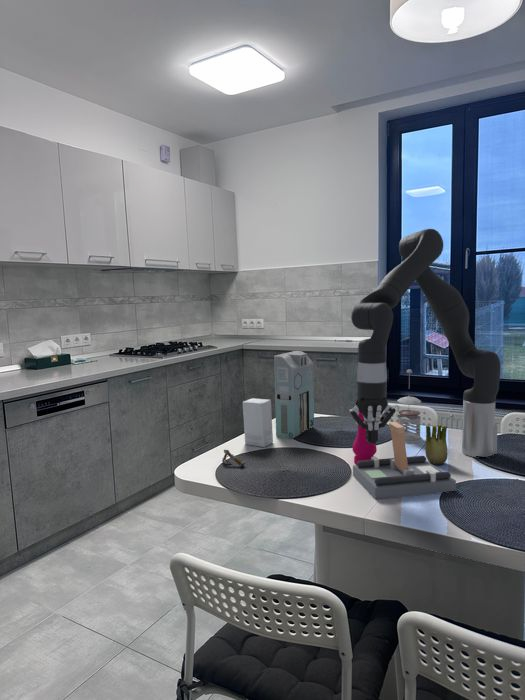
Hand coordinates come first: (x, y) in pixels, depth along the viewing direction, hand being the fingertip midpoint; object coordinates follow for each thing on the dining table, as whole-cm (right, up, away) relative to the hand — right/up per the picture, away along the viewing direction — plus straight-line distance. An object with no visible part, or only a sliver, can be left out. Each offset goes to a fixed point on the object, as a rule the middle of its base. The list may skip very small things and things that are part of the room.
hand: (371, 442), depth 124 cm
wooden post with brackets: (-38, -11, +19) cm, 44 cm away
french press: (+22, -7, +41) cm, 47 cm away
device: (-17, -7, +53) cm, 56 cm away
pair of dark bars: (+9, -9, +2) cm, 13 cm away
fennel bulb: (+24, -10, +17) cm, 31 cm away
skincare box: (-31, -8, +40) cm, 51 cm away
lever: (+9, -8, +2) cm, 12 cm away
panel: (+9, -12, +3) cm, 15 cm away
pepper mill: (+2, -10, +19) cm, 21 cm away
